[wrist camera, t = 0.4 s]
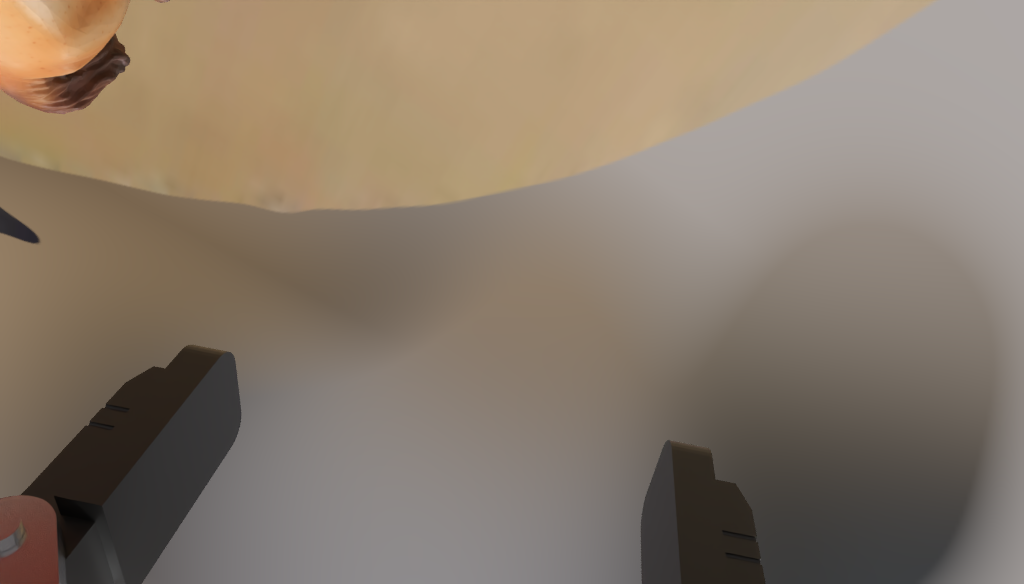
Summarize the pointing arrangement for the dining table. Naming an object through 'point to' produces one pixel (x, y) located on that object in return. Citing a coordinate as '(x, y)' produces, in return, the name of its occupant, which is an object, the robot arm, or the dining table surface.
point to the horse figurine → (60, 51)
